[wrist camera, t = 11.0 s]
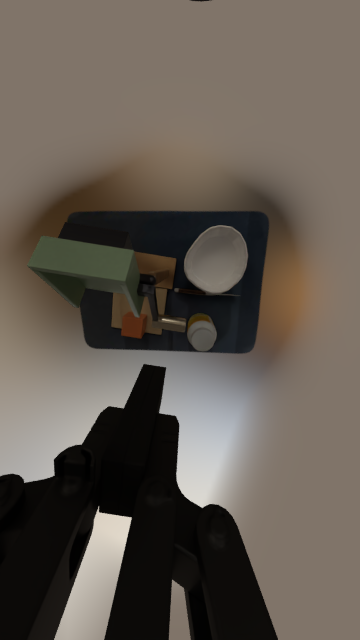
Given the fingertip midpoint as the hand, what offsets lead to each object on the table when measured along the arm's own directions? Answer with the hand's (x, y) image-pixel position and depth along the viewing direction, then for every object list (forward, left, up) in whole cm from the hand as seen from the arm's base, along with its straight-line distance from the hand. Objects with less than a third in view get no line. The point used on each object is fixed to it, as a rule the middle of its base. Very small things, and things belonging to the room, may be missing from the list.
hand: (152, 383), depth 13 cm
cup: (-9, +5, -29) cm, 31 cm away
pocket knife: (-3, +6, -30) cm, 30 cm away
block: (+8, -8, -27) cm, 29 cm away
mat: (+3, -8, -29) cm, 30 cm away
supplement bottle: (+4, +6, -29) cm, 30 cm away
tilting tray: (-6, -6, -14) cm, 16 cm away
